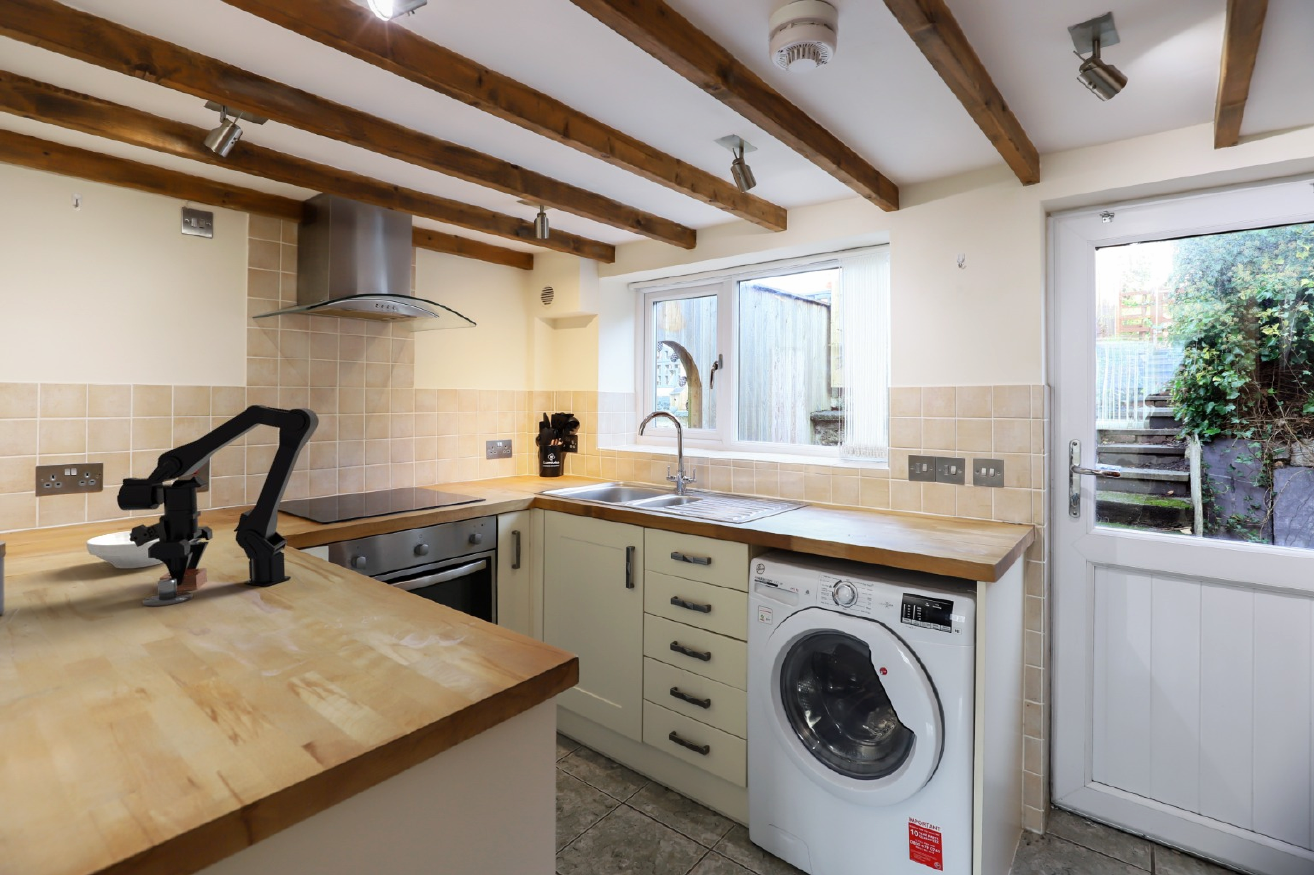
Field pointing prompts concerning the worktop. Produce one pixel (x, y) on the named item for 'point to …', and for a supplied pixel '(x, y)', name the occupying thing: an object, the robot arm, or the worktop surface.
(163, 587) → the disc with centre peg
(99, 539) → the bowl
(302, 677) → the worktop surface
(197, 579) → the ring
